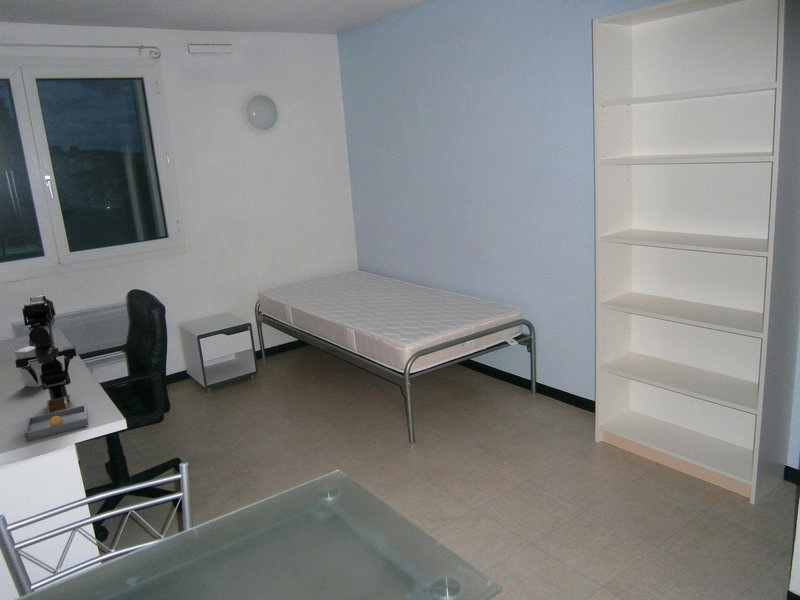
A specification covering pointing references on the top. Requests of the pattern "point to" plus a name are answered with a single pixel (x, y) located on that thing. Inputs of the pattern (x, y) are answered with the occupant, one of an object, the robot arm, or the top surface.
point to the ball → (55, 421)
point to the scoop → (57, 404)
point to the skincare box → (37, 367)
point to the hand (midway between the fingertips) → (52, 379)
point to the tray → (41, 426)
